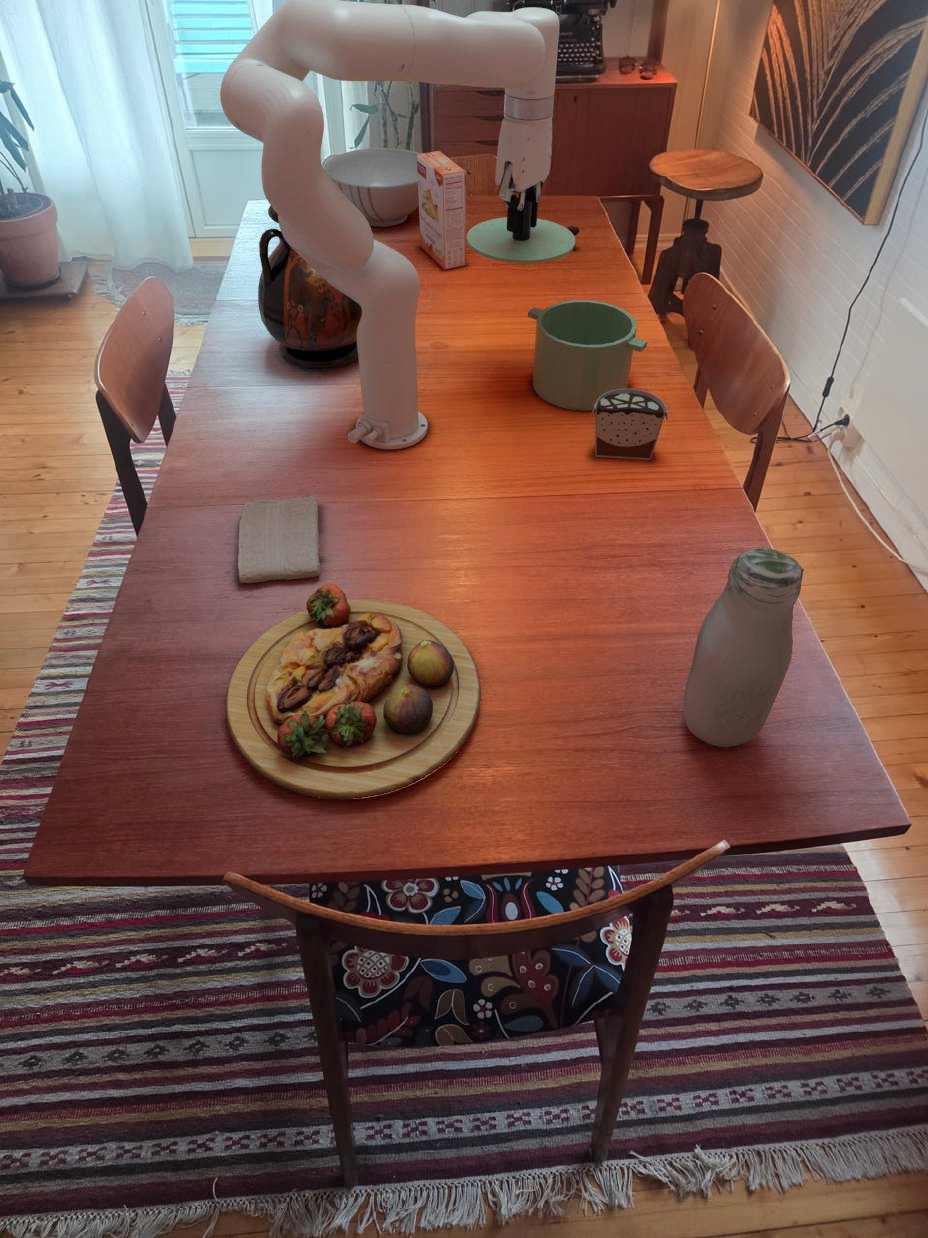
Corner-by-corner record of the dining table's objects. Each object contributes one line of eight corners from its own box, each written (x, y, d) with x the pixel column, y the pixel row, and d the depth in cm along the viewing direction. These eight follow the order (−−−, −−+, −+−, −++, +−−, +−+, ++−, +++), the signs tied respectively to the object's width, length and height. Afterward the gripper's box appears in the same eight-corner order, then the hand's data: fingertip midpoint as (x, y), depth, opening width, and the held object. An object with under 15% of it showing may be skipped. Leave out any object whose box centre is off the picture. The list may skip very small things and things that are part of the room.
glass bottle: (744, 696, 112) (806, 526, 92) (766, 762, 105) (838, 593, 85) (667, 698, 112) (713, 527, 92) (684, 764, 105) (737, 595, 85)
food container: (657, 439, 153) (667, 388, 146) (659, 460, 148) (669, 408, 141) (586, 435, 154) (592, 384, 146) (586, 456, 149) (592, 404, 142)
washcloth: (319, 504, 140) (317, 488, 137) (323, 580, 127) (321, 564, 125) (243, 511, 138) (239, 495, 136) (240, 589, 126) (236, 573, 124)
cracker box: (418, 247, 209) (415, 152, 194) (441, 243, 211) (440, 149, 196) (442, 271, 200) (441, 173, 185) (466, 266, 202) (467, 169, 187)
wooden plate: (242, 614, 122) (231, 570, 116) (470, 604, 124) (471, 560, 118) (212, 813, 100) (196, 771, 94) (491, 797, 101) (493, 754, 96)
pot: (612, 425, 156) (622, 361, 147) (503, 387, 165) (505, 324, 156) (655, 382, 166) (666, 320, 157) (550, 348, 175) (555, 287, 166)
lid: (538, 277, 141) (541, 231, 135) (445, 248, 148) (445, 204, 143) (594, 240, 151) (599, 196, 146) (505, 215, 159) (507, 173, 154)
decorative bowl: (339, 243, 210) (334, 190, 202) (321, 202, 228) (316, 152, 220) (447, 232, 215) (447, 180, 207) (422, 192, 233) (420, 143, 225)
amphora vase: (343, 316, 184) (329, 174, 164) (397, 359, 172) (389, 211, 152) (248, 344, 176) (222, 198, 156) (297, 392, 163) (275, 240, 143)
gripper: (536, 90, 141) (528, 209, 154) (478, 114, 131) (475, 238, 144) (576, 98, 138) (565, 219, 151) (520, 123, 128) (513, 250, 141)
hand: (521, 227), depth 148 cm, fingers closed on lid, 3 cm apart
